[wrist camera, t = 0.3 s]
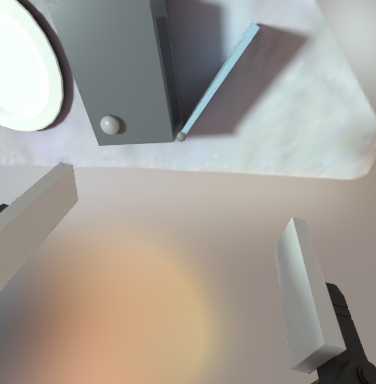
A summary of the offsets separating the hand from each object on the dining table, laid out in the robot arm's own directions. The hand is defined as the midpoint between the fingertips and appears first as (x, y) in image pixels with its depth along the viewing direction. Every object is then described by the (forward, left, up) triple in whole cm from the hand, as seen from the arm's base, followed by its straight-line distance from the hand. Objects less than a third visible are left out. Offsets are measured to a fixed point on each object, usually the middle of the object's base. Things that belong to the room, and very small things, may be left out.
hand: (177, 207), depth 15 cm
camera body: (-5, -10, -25) cm, 28 cm away
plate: (-7, -32, -26) cm, 42 cm away
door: (-2, +1, -25) cm, 25 cm away
